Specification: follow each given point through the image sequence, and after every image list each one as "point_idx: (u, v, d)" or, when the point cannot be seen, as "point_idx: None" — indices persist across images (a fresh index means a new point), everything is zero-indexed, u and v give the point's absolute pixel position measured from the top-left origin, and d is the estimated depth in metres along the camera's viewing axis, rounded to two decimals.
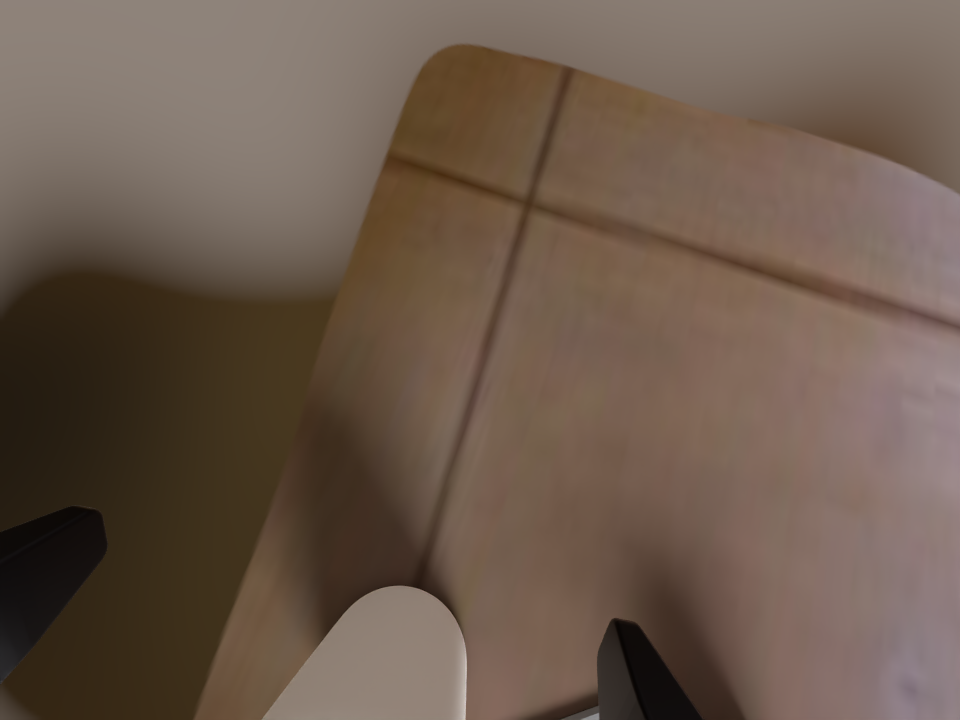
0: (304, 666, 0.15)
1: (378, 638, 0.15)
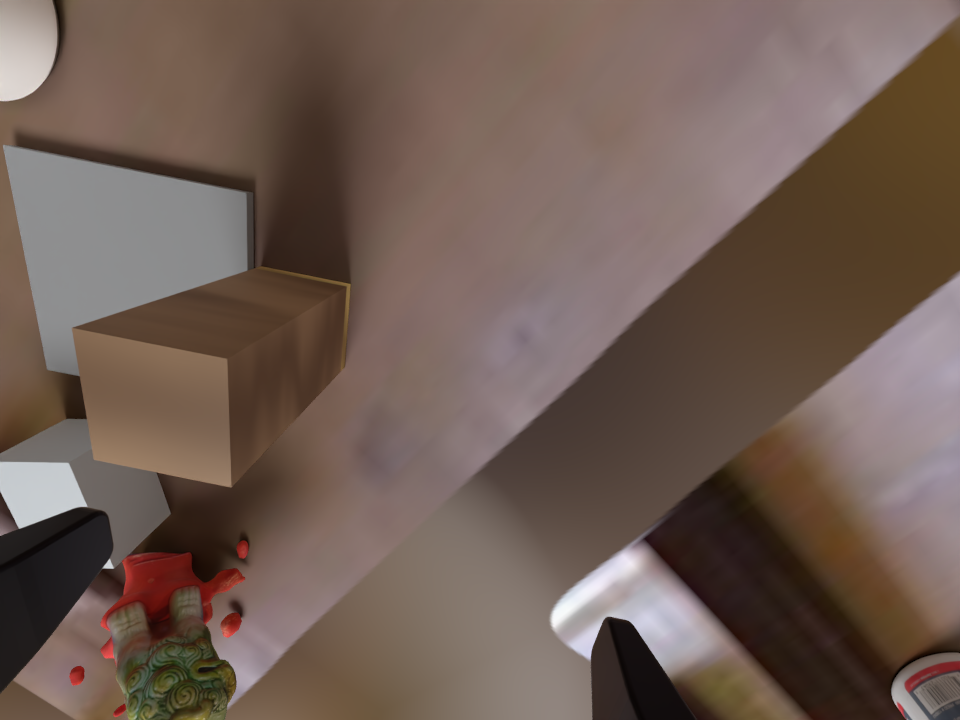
0: None
1: None
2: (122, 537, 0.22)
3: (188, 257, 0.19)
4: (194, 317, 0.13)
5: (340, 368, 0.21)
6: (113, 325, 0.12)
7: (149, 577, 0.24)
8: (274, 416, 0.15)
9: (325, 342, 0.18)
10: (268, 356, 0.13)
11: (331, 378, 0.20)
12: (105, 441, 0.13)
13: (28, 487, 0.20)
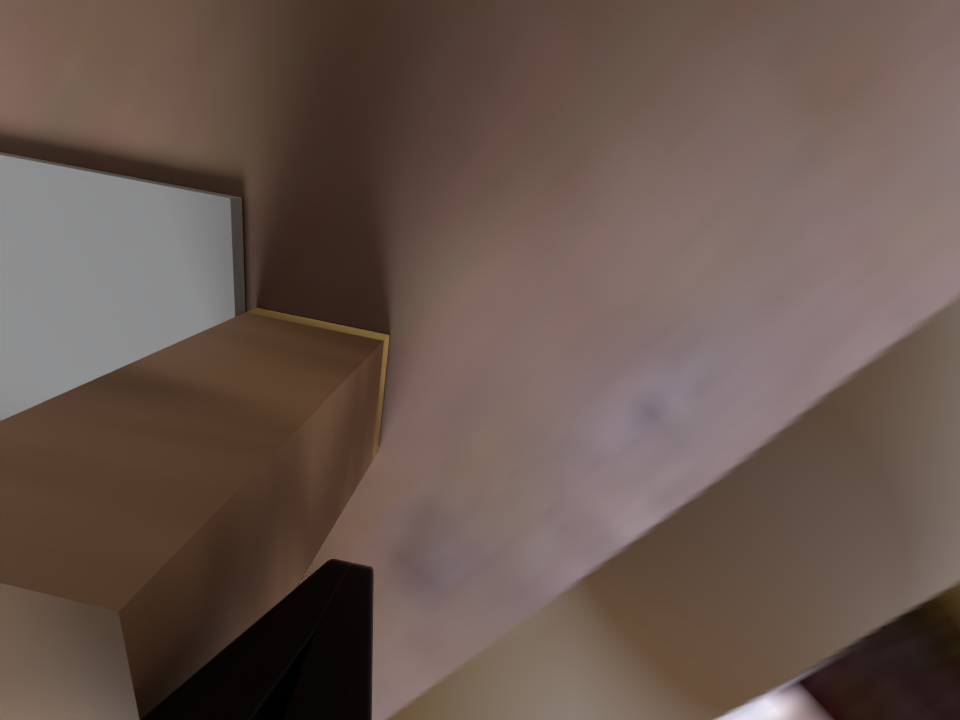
0: None
1: None
2: None
3: (146, 296, 0.13)
4: (95, 450, 0.07)
5: (372, 457, 0.14)
6: None
7: None
8: (259, 611, 0.08)
9: (350, 436, 0.11)
10: (241, 526, 0.07)
11: (359, 479, 0.13)
12: None
13: None
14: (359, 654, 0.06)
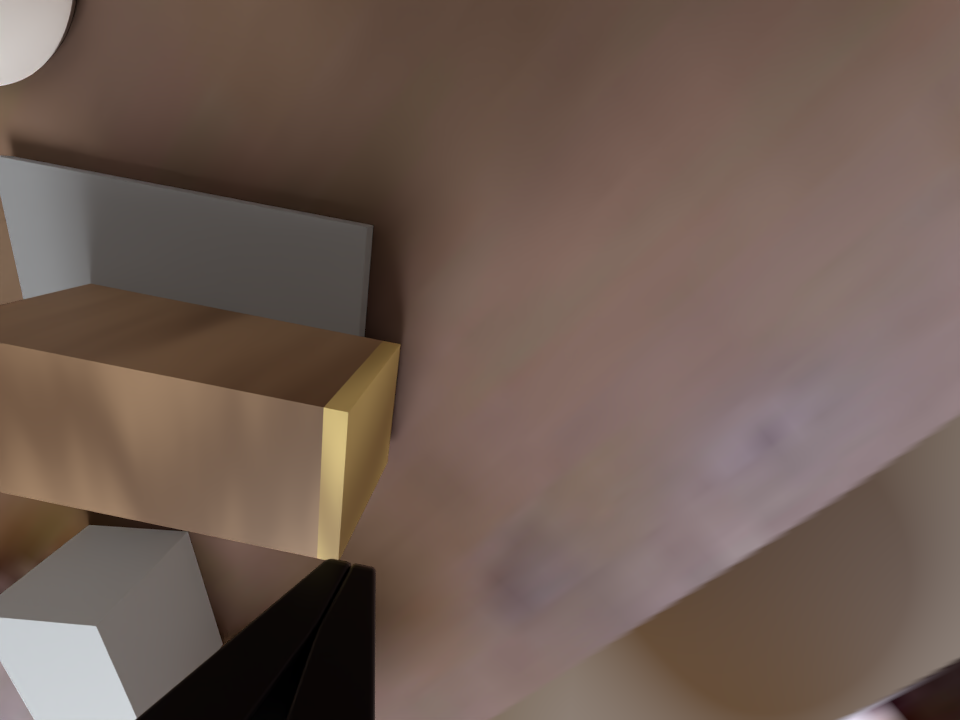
0: None
1: None
2: None
3: None
4: (110, 314, 0.11)
5: (314, 552, 0.10)
6: (93, 292, 0.12)
7: None
8: (55, 471, 0.10)
9: (225, 462, 0.10)
10: (17, 376, 0.09)
11: (269, 543, 0.10)
12: None
13: (35, 650, 0.14)
14: (362, 655, 0.06)
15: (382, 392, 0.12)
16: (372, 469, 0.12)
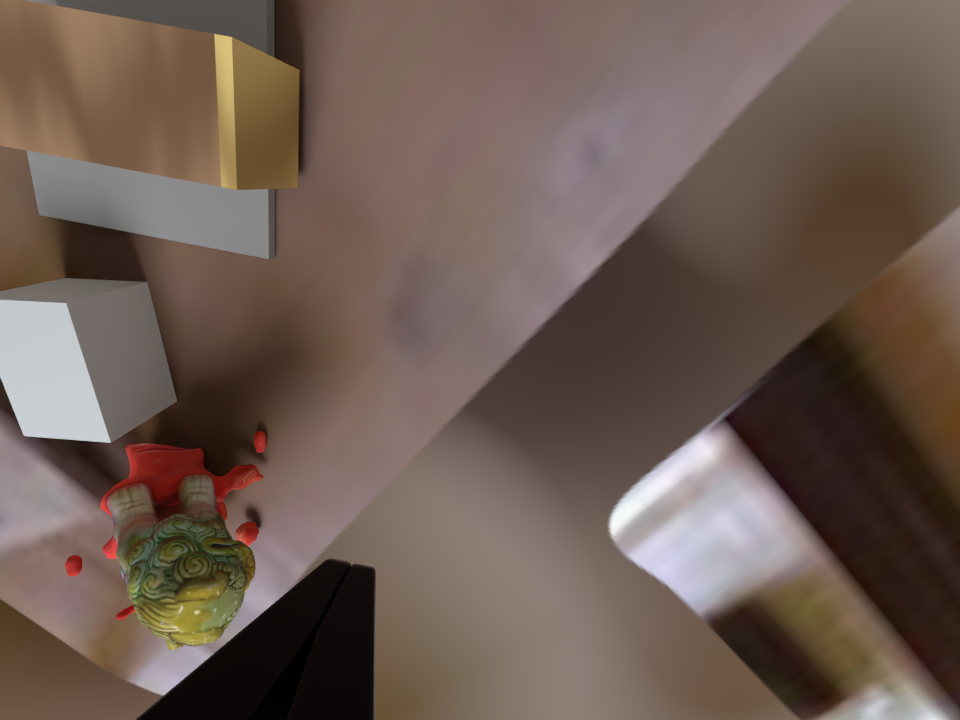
0: None
1: None
2: (122, 410, 0.19)
3: None
4: None
5: (219, 181, 0.14)
6: None
7: (156, 466, 0.21)
8: (25, 116, 0.14)
9: (148, 95, 0.13)
10: None
11: (185, 175, 0.14)
12: None
13: (17, 333, 0.17)
14: (362, 655, 0.06)
15: (278, 86, 0.15)
16: (275, 159, 0.16)
